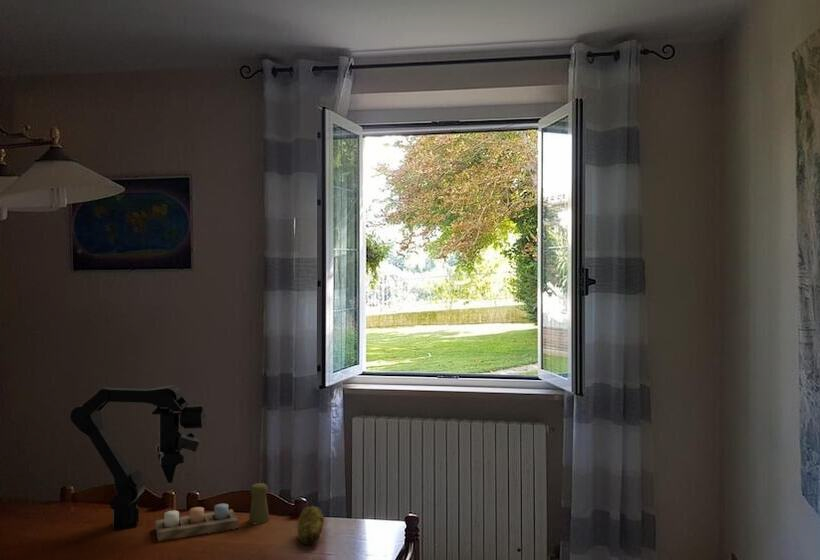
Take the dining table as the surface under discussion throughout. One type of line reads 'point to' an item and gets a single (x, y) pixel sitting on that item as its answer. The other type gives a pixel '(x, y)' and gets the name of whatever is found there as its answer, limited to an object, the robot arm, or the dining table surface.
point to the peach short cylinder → (196, 515)
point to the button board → (195, 526)
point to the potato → (310, 525)
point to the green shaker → (259, 504)
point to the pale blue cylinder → (220, 511)
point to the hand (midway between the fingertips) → (169, 480)
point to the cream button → (171, 519)
